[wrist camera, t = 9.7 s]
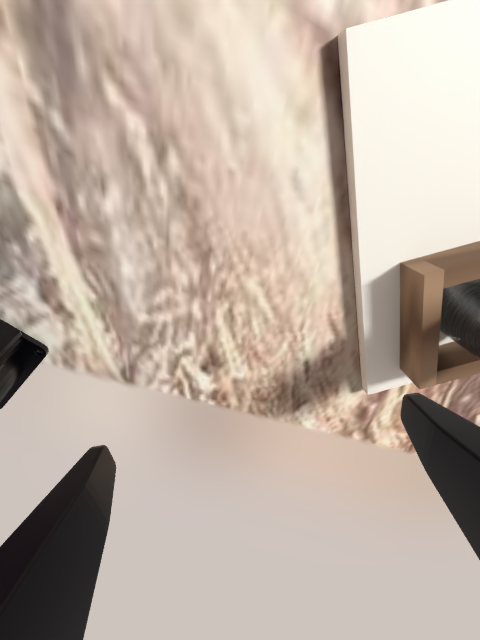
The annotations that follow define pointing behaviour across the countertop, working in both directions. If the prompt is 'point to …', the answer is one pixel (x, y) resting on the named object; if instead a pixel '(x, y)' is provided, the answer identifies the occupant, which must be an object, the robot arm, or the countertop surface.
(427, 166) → the board
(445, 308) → the grey tall rounded cylinder
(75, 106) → the countertop surface
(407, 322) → the square wooden frame
